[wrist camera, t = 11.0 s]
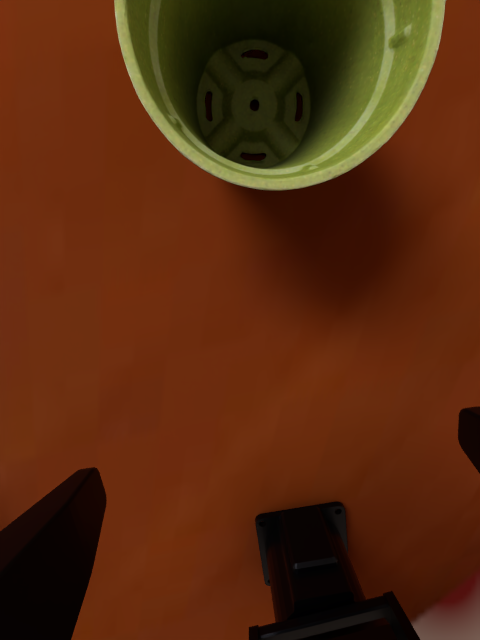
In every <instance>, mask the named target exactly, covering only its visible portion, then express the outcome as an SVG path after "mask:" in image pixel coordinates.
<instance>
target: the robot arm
mask: <svg viewBox="0 0 480 640" xmlns="http://www.w3.org/2000/svg"><path fill="white" fill-rule="evenodd" d="M458 440H459V444H460V446H461V448H462V449H463V451H464V452H465V454H466V455H467V456H468V458H469V459H470V461H471V462H472V463H473V465H474V466H475V468H476V469H477V470H478V472H479V473H480V407H470V408H464V409H462V410H461V411H460V413H459V426H458ZM105 508H106V493H105V489H104V486H103V483H102V480H101V476H100V473H99V471H98V469H97V468H95V467H92V468H86V469H80V470H78V471H76V472H75V473H74V474H73V475H71V476H70V477H69V478H68V479H66V480H65V481H64V482H62V483H61V484H60V485H59V486H57V487H56V488H55V489H54V490H52V491H51V492H50V493H49V494H47V495H46V496H45V497H43V498H42V499H41V500H40V501H38V502H37V503H36V504H35V505H33V506H32V507H31V508H30V509H28V510H27V511H26V512H24V513H23V514H22V515H21V516H19V517H18V518H17V519H16V520H14V521H13V522H12V523H10V524H9V525H8V526H7V527H5V528H4V529H3V530H2V531H0V640H71V638H72V635H73V632H74V628H75V625H76V622H77V619H78V616H79V612H80V609H81V606H82V603H83V600H84V596H85V593H86V590H87V587H88V583H89V580H90V577H91V573H92V569H93V565H94V561H95V556H96V551H97V546H98V541H99V537H100V532H101V527H102V522H103V518H104V513H105ZM336 509H338V510H336ZM261 521H264V522H261ZM255 523H256V530H257V536H258V542H259V549H260V555H261V561H262V568H263V574H264V580H265V584H266V585H268V586H271V593H272V600H273V607H274V614H275V621H276V623H272V624H268V625H264V626H260V627H259V626H258V625H256V626H252V627H249V640H420V638H419V637H418V635H417V633H416V632H415V630H414V628H413V626H412V625H411V623H410V621H409V619H408V618H407V616H406V614H405V612H404V611H403V609H402V607H401V606H400V604H399V602H398V600H397V599H396V597H395V595H394V593H393V592H392V591H391V592H387V593H383V596H379V597H375V598H371V599H367V600H366V599H365V596H364V594H363V591H362V589H361V586H360V584H359V581H358V578H357V576H356V573H355V571H354V568H353V566H352V563H351V561H350V558H349V556H348V547H347V532H346V517H345V509H344V506H343V504H342V503H341V502H331V503H325V504H319V505H313V506H306V507H300V508H294V509H288V510H282V511H276V512H269V513H263V514H259V515H258V516H256V518H255Z"/></svg>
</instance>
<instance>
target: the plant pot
mask: <svg viewBox="0 0 480 640" xmlns="http://www.w3.org/2000/svg"><path fill="white" fill-rule="evenodd" d="M445 1H446V0H114V2H115V16H116V25H117V31H118V37H119V42H120V46H121V50H122V54H123V57H124V61H125V64H126V67H127V70H128V73H129V76H130V78H131V81H132V83H133V86H134V88H135V90H136V93H137V95H138V97H139V99H140V100H141V102H142V104H143V106H144V107H145V109H146V111H147V112H148V114H149V115H150V117H151V118H152V120H153V121H154V123H155V124H156V126H157V127H158V128H159V129H160V131H161V132H162V133H163V134H164V136H165V137H166V138H167V139H168V140H169V141H170V142H171V143H172V144H173V145H174V146H175V147H176V148H177V150H178V151H179V152H180V153H182V154H183V155H184V156H185V157H186V158H187V159H189V160H190V161H192V162H193V163H194V164H196V165H197V166H199V167H200V168H202V169H203V170H205V171H206V172H208V173H210V174H212V175H214V176H216V177H218V178H220V179H223V180H225V181H228V182H230V183H233V184H236V185H240V186H243V187H248V188H253V189H259V190H276V191H282V190H292V189H299V188H304V187H308V186H312V185H316V184H319V183H323V182H325V181H328V180H331V179H333V178H336V177H338V176H340V175H342V174H344V173H346V172H348V171H349V170H351V169H353V168H354V167H356V166H357V165H359V164H361V163H362V162H363V161H365V160H366V159H367V158H369V157H370V156H371V155H372V154H373V153H375V152H376V151H377V150H378V149H379V148H380V147H381V146H382V145H383V144H384V143H386V142H387V141H388V140H389V139H390V138H391V136H392V135H393V134H394V133H395V132H396V131H397V129H398V128H399V127H400V126H401V124H402V123H403V122H404V120H405V119H406V118H407V116H408V115H409V113H410V112H411V110H412V109H413V107H414V105H415V103H416V102H417V100H418V98H419V96H420V94H421V92H422V90H423V88H424V86H425V84H426V81H427V79H428V76H429V74H430V71H431V69H432V66H433V64H434V61H435V57H436V54H437V51H438V47H439V43H440V38H441V32H442V26H443V19H444V11H445ZM249 50H261V51H264V52H265V53H267V54H268V58H267V59H266V60H263V59H259V58H251V57H250V58H247V57H244V58H242V57H241V55H242V54H243V53H244V52H246V51H249ZM209 91H210V92H211V93H212V105H211V108H212V117H213V120H212V121H211V122H210V121H209V120H207V118H206V106H205V103H204V102H205V96H206V93H207V92H209ZM296 93H299V94H300V95H301V96H302V103H303V105H302V109H303V112H302V117H301V119H300V120H299V121H298V122H296V121H295V114H296V108H297V103H296V102H297V100H296ZM252 100H257V101H258V102H259V108H258V110H257V111H253V110H251V109H250V102H251V101H252ZM242 152H244V153H249V154H259V153H265V154H266V157H265V158H264V159H263V160H261V161H255V160H245V159H242V157H241V156H240V155H241V153H242Z"/></svg>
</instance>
